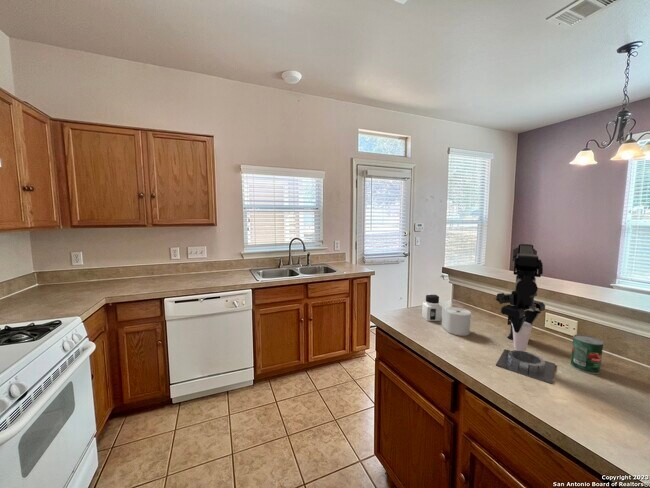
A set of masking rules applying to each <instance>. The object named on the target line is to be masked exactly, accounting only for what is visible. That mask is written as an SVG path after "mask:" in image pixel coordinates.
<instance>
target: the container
mask: <svg viewBox="0 0 650 488" xmlns="http://www.w3.org/2000/svg"><path fill="white" fill-rule="evenodd" d="M442 307H443V306H441V305H440V296H438V295H437V294H432V293H429V294H426V295H425V302H424V301H423V302H422V308H421V310H422V311H421V316H422V317H423V318H424V319H425V320H426V321H427V322H442Z"/></svg>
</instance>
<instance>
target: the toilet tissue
mask: <svg viewBox="0 0 650 488" xmlns="http://www.w3.org/2000/svg"><path fill="white" fill-rule="evenodd" d="M441 307H442V318H441V327H442V328H443V329H444V330H445V331H446V332H448V333H449V334H452V335H455V336H460V337H461V336H469V335H470V334H471V320H472V319H471V317H472V312H471V311H470V310H468V309H465V308H461V307H447V308H446V309H445V308H444V307H443V306H441Z"/></svg>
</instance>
